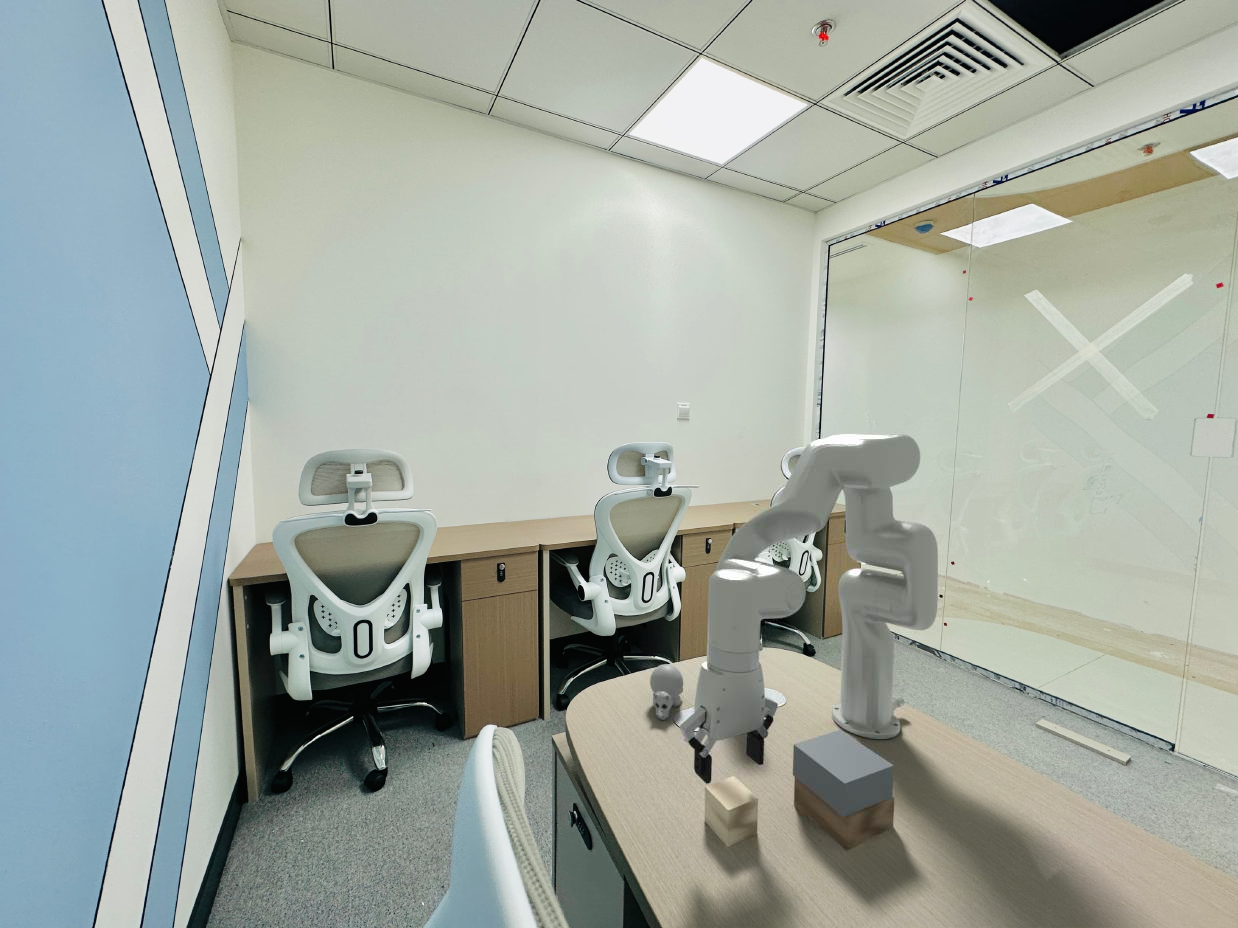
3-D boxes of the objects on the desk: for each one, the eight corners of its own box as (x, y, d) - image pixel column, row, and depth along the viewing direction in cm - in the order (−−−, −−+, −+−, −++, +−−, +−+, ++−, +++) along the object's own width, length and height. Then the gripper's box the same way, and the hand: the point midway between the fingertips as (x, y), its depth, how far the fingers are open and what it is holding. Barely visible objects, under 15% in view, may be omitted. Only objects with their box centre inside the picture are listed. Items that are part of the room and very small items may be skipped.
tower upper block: (838, 758, 85) (839, 729, 85) (892, 797, 76) (893, 765, 76) (792, 774, 81) (793, 743, 81) (843, 817, 72) (844, 783, 72)
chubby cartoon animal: (643, 727, 107) (639, 698, 104) (656, 682, 117) (652, 654, 114) (677, 733, 105) (674, 704, 101) (687, 687, 115) (684, 658, 112)
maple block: (733, 809, 80) (733, 775, 80) (757, 833, 75) (758, 798, 75) (704, 821, 78) (705, 786, 77) (727, 847, 73) (728, 810, 73)
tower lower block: (838, 787, 86) (839, 758, 85) (893, 828, 77) (894, 796, 76) (793, 806, 81) (794, 775, 81) (846, 852, 72) (847, 818, 72)
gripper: (760, 637, 82) (756, 740, 83) (669, 655, 74) (666, 769, 75) (795, 655, 76) (791, 767, 76) (699, 677, 68) (696, 802, 68)
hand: (729, 768), depth 76 cm, fingers open, 9 cm apart
